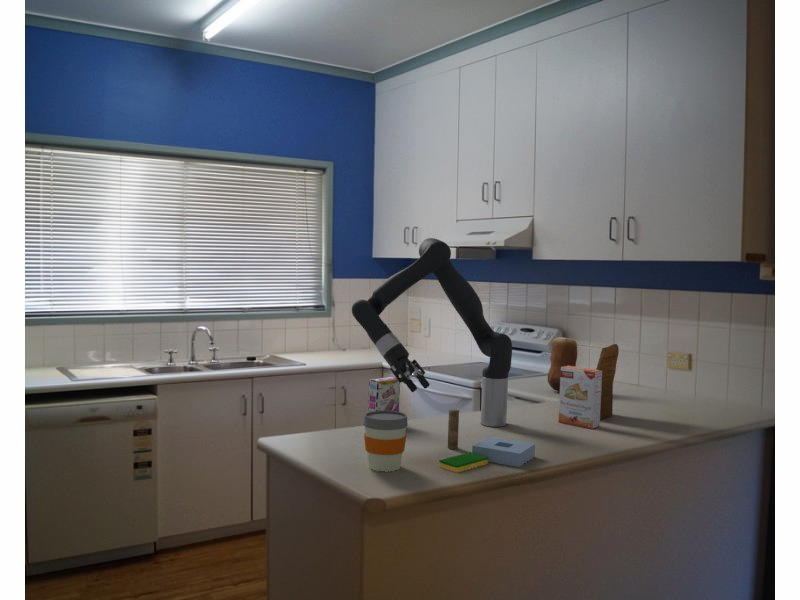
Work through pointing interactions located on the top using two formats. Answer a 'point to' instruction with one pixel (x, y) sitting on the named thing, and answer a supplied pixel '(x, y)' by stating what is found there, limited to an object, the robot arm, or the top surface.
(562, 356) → the butternut squash
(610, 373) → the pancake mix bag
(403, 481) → the top surface
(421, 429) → the top surface
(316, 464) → the top surface
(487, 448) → the hole block
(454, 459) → the dish sponge
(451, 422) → the walnut peg
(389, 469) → the reusable coffee cup
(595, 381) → the cracker box
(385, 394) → the candy bar box
